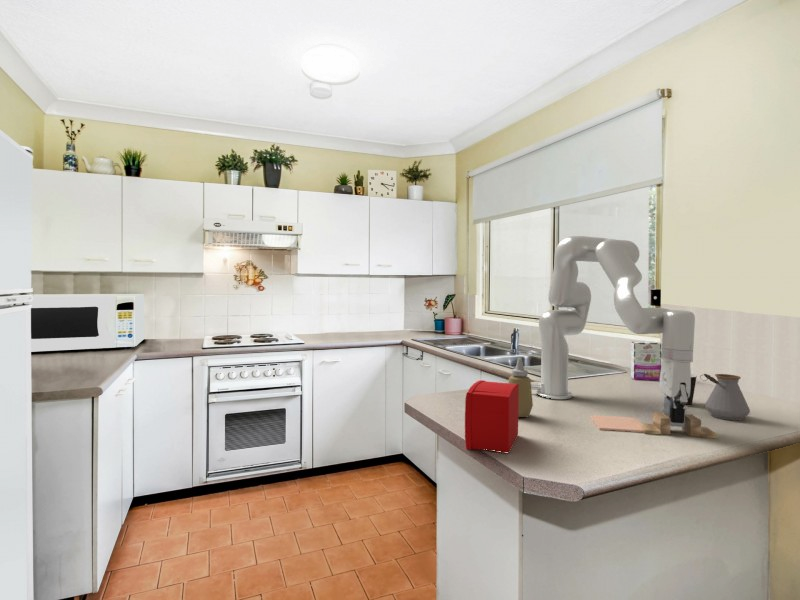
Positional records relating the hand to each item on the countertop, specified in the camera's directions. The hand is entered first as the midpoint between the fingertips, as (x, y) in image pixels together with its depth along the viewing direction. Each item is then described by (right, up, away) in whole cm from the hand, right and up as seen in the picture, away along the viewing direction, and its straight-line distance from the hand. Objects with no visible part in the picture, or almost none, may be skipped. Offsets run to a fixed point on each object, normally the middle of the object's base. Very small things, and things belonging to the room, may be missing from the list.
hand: (673, 419), depth 129 cm
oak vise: (0, -3, -1) cm, 3 cm away
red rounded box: (-53, -4, -9) cm, 53 cm away
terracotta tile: (-13, -3, +6) cm, 14 cm away
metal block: (0, -1, 0) cm, 1 cm away
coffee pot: (+21, -3, +12) cm, 25 cm away
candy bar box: (+31, -2, +73) cm, 79 cm away
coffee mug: (+22, -3, +33) cm, 39 cm away
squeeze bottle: (-39, -3, +15) cm, 42 cm away
